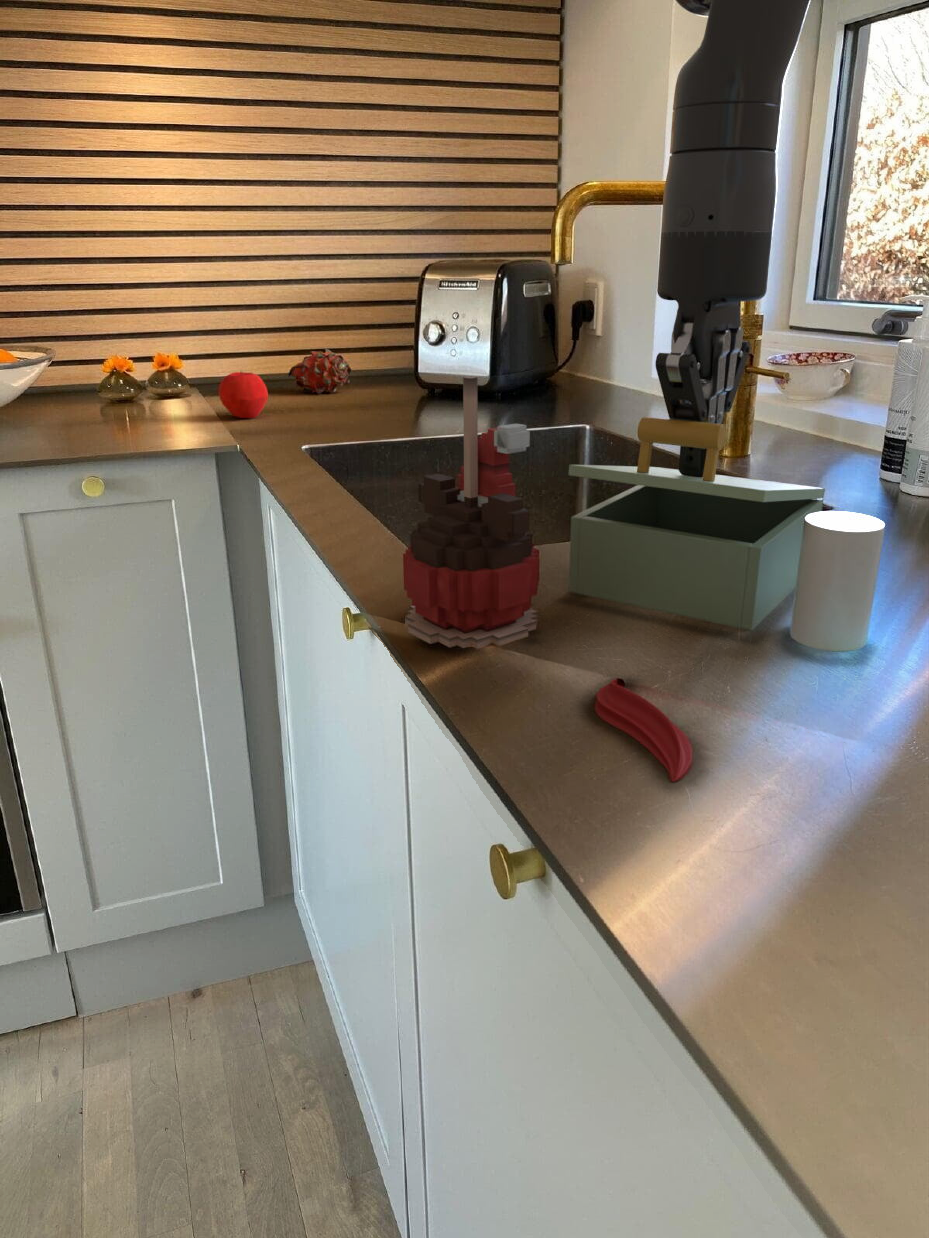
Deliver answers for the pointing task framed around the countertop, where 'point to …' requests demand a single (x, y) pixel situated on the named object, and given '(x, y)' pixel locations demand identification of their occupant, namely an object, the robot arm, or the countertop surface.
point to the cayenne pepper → (645, 726)
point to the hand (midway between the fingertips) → (695, 474)
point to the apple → (243, 394)
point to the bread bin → (689, 553)
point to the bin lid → (710, 484)
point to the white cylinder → (836, 580)
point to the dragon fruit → (321, 372)
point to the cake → (473, 545)
